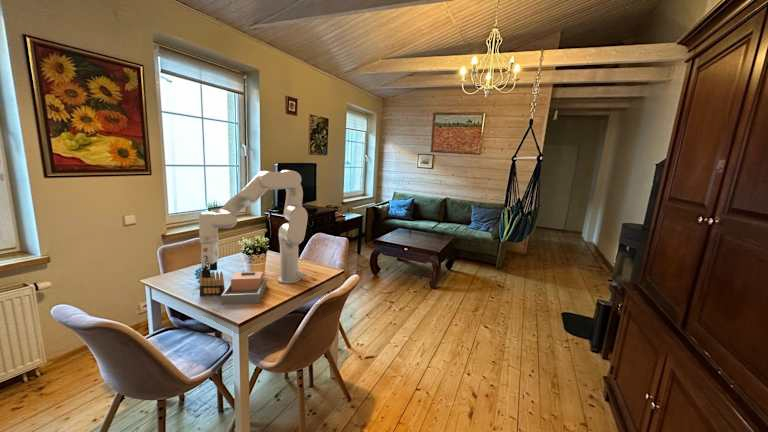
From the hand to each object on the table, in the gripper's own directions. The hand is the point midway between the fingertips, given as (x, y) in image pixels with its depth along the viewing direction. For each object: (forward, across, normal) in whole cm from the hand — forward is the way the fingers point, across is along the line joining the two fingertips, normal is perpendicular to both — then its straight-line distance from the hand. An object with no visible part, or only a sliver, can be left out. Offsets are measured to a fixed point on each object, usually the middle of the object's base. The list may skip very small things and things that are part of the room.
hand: (209, 273), depth 144 cm
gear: (+11, +16, +8) cm, 21 cm away
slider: (+9, +5, -16) cm, 19 cm away
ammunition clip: (+11, 0, -1) cm, 11 cm away
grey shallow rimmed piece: (+10, 0, -16) cm, 19 cm away
